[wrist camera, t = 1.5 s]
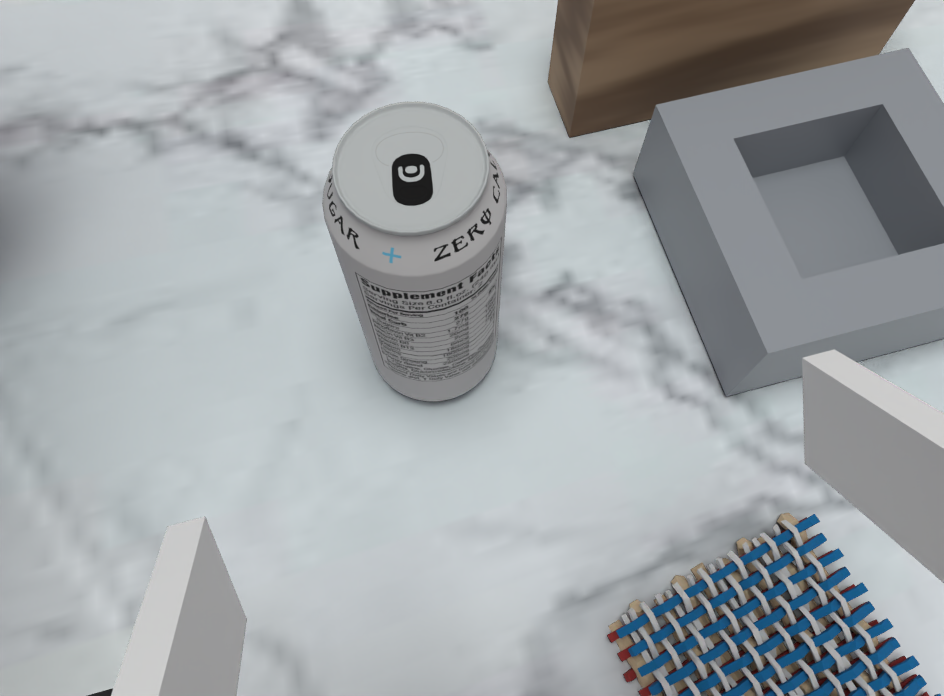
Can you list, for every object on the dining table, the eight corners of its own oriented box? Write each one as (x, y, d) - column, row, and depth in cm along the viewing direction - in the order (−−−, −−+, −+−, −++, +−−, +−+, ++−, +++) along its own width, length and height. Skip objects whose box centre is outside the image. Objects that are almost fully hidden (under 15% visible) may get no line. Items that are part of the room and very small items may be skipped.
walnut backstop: (868, 69, 43) (975, -90, 34) (569, 137, 42) (596, -11, 32) (838, 18, 45) (932, -148, 36) (547, 82, 43) (567, -75, 34)
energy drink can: (489, 288, 38) (497, 78, 24) (502, 401, 36) (520, 241, 22) (370, 299, 38) (310, 93, 24) (376, 413, 36) (313, 259, 22)
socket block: (973, 330, 37) (1053, 278, 32) (726, 396, 36) (767, 353, 31) (855, 122, 42) (908, 47, 37) (633, 174, 41) (655, 104, 35)
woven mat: (591, 623, 33) (598, 621, 31) (790, 507, 35) (808, 498, 33) (732, 877, 29) (750, 892, 27) (945, 733, 31) (976, 738, 29)
